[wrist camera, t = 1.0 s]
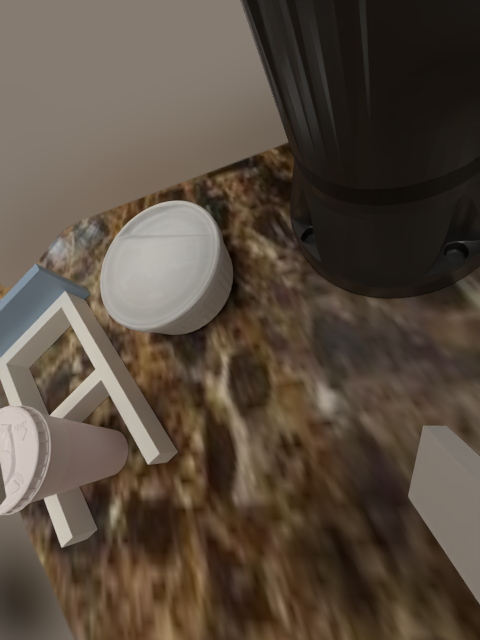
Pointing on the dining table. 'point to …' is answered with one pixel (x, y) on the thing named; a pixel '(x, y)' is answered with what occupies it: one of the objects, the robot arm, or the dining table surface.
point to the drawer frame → (107, 379)
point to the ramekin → (167, 270)
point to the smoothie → (53, 455)
